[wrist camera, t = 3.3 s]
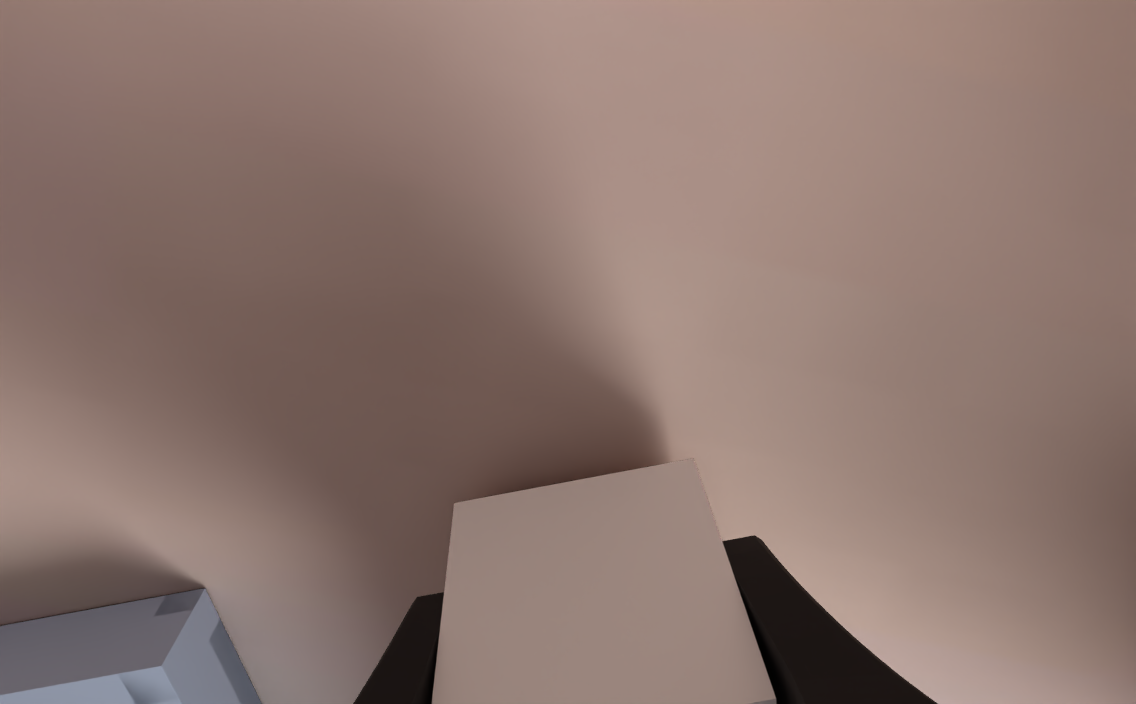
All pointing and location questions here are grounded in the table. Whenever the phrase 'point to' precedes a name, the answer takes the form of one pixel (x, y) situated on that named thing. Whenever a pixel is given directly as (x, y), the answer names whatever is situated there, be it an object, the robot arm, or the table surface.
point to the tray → (125, 656)
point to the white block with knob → (595, 598)
